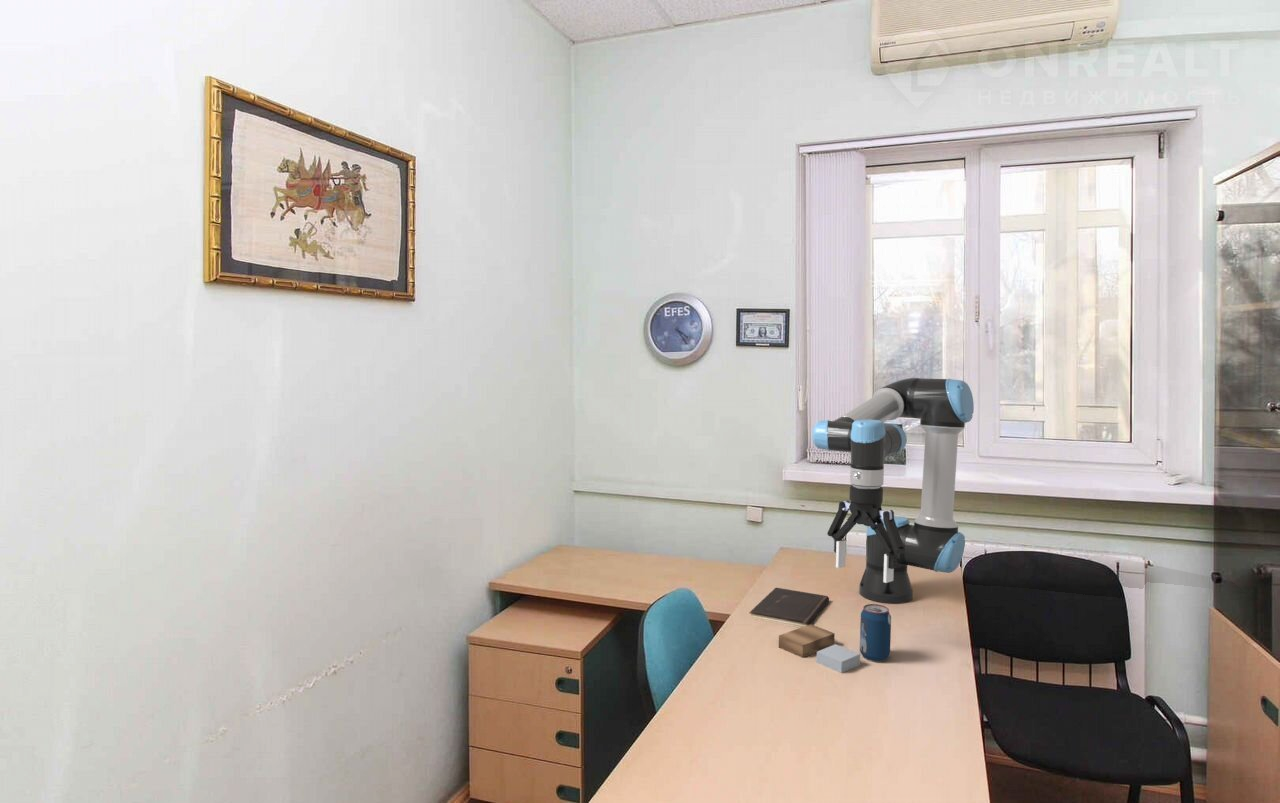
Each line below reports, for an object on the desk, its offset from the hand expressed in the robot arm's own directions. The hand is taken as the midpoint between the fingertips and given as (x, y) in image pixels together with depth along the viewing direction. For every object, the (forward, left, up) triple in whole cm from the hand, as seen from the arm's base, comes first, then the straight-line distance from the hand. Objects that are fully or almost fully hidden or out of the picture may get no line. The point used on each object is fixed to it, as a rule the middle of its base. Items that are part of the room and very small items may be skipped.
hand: (863, 574), depth 177 cm
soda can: (-2, +2, -20) cm, 21 cm away
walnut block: (+6, -12, -20) cm, 24 cm away
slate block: (+8, -1, -21) cm, 22 cm away
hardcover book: (-10, -31, -21) cm, 38 cm away
